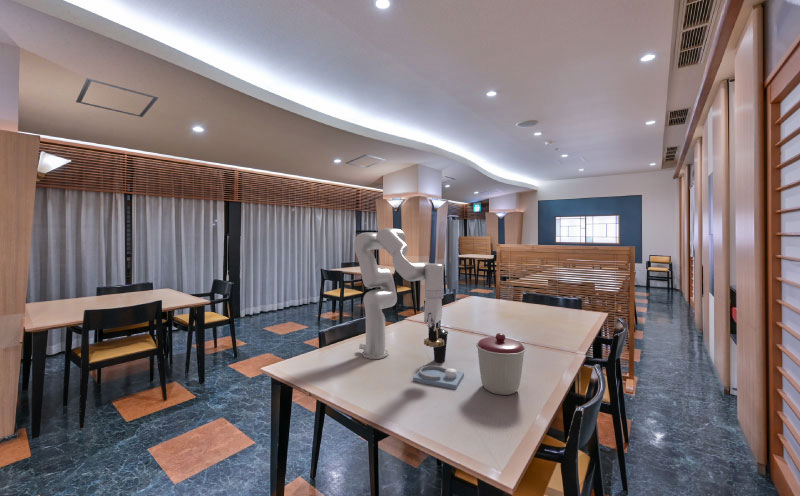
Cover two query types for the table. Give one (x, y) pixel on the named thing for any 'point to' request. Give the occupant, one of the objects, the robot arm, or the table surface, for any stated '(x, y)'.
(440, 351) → the drinking cup
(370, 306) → the robot arm
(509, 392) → the canister
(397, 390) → the table surface
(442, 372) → the carrier plate
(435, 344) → the bronze gear
